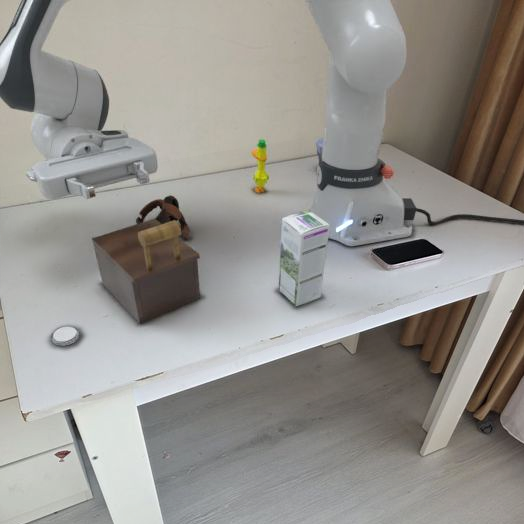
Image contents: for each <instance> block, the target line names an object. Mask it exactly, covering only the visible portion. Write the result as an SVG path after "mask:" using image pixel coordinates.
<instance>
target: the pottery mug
mask: <svg viewBox="0 0 524 524" xmlns="http://www.w3.org/2000/svg"><path fill="white" fill-rule="evenodd" d="M158 207H159V209H160V212H159V214H158V215H157V216H156V217H155V218H154V219H156V220H157V221H158V222H160V223H161V224H165V223H168V222H171V221H174V220H175V221H177V222H178V224H179V225H180V228H181V229H182V230H181V235H183V236H184V240H186V241H187V240H188V239H189V238H190V235H191V230H190V228H189V225H188V223H187V221H186V219H185V217H184V214H183V213H182V211H181V210H180V205H179V200H178V199H177V197H175V196H174V195H167V196H165V197H164V198H163V199H161V198H157V199H154V200H151V201H150V202H148V203H147V204H146V205H144V207H142V208H141V210H139V213H138V214H139V215H140V216H141V217H140V216H138V217H137V218H136V220H135V223H136V224H139V223H142V222H145V219H146V218H147V216H148V215H149V214H150V213H151V212H152V211H154V210H155V209H157V208H158Z"/></svg>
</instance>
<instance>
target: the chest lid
mask: <svg viewBox="0 0 524 524" xmlns="http://www.w3.org/2000/svg"><path fill="white" fill-rule="evenodd" d="M181 235H182V228H181V226H180V223H179V221H175V220H174V221H171V222H168V223H165V224H161V223H160V222H158V221H157V220H156V219H155V218H152V219H149V220H144V222H142V223H139V224H137V223H136V224H132V225H130V226H127V227H123V228H119V229H117V230H114V231H111V232H107V233H105V234H102V235H98V236H95V237H91V240H92V243H94V244H95V245H96V246H97V247H98V248H99V249H100V250H101V251H102V252H103V253H104V254H105V255H106V256H107V257H108V258H109V259H110V260H111V261H112V262H113V263H114V264H115V265H116V266H117V267H118V268H119V269H120V270H121V271H122V272H123V273H124V274H125V275H126V276H127V277H128V278H129V279H130V280H131V281H132V282H133V283H136V282H139V281H142V280H144V279H147V278H150V277H152V276H155V275H157V274H160V273H163V272H165V271H168V270H170V269H173V268H176V267H178V266H181V265H184V264H186V263H189V262H191V261H194V260H199V259H201V254H200V253H199V252H198V251H197V250H195V249H194V248H193V247H192V246H191V245H189V244H187V243H186V242H185V241H184V240H182V239H181V238H180V236H181Z"/></svg>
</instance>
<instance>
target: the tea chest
mask: <svg viewBox="0 0 524 524" xmlns="http://www.w3.org/2000/svg"><path fill="white" fill-rule="evenodd" d="M92 243H93V242H92ZM93 248H94V249H93V250H94V253H95V257H96V261H97V265H98V269H99V273H100V277H101V283H102V285H103V286H104V287H105V288H106V289H107V290H108V291H109V293H111V294H112V295H113V297H114V298H115V299H116V300H117V302H119V303H120V304H121V305H122V307H124V308H125V309H126V311H127V312H128V313H129V314H130V315H131V316H132V317H133V318H134V319H135V320H136V321H137V322H138V323H139V324H142V323H145V322H147V321H149V320H152V319H154V318H156V317H158V316H161V315H163V314H166V313H168V312H170V311H173V310H175V309H178V308H180V307H183V306H184V305H187V304H189V303H192V302H194V301H196V300H199V299H200V298H201V289H200V288H201V287H200V273H199V264H198V263H199V262H198V260H199V259H197V260H194V261H191V262H189V263H186V264H184V265H181V266H178V267H176V268H173V269H170V270H168V271H165V272H163V273H160V274H157V275H155V276H152V277H150V278H147V279H144V280H142V281H139V282H136V283H133V282H132V281H131V280H130V279H129V278H128V277H127V276H126V275H125V274H124V273H123V272H122V271H121V270H120V269H119V268H118V267H117V266H116V265H115V264H114V263H113V262H112V261H111V260H110V259H109V258H108V257H107V256H106V255H105V254H104V253H103V252H102V251H101V250H100V249H99V248H98V247H97V246H96V245H95V244H94V243H93Z"/></svg>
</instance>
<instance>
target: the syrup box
mask: <svg viewBox="0 0 524 524" xmlns="http://www.w3.org/2000/svg"><path fill="white" fill-rule="evenodd" d="M329 227H330V225H329V224H328V223H326V222H325V221H323V220H322V219H321V218H319V217H318V216H316V215H315V214H313V213H312V212H311V210H303V211H299V212H295V213H293V214H290V215H287V216H285V217H282V218H281V231H280V232H281V233H280V234H281V235H280V250H279V251H280V255H279V271H278V273H279V274H278V291H279V292H280V294H282V295H283V296H284V297H285V298H286V299H287V300H288V301H289V302H290V303H292V304H293V305H294V306H295V307H299V306H303V305H305V304H307V303H310V302H312V301H315V300H318V299H319V298H321V297H322V289H323V282H324V275H325V266H326V257H327V251H328V245H329V243H328V242H329V238H328V236H329Z"/></svg>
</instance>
